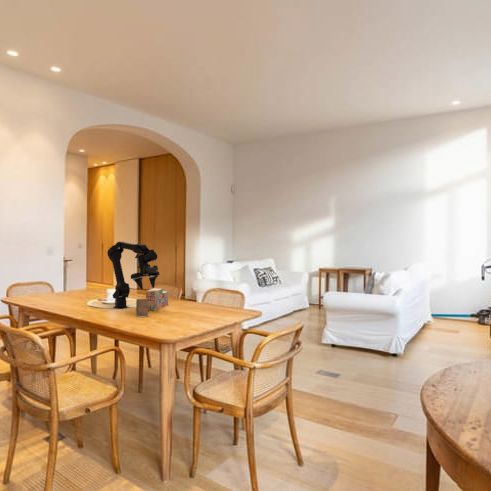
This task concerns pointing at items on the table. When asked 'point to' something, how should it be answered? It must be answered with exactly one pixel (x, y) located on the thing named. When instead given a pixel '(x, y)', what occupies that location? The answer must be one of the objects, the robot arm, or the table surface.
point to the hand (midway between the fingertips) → (147, 288)
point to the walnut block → (142, 307)
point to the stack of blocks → (156, 298)
